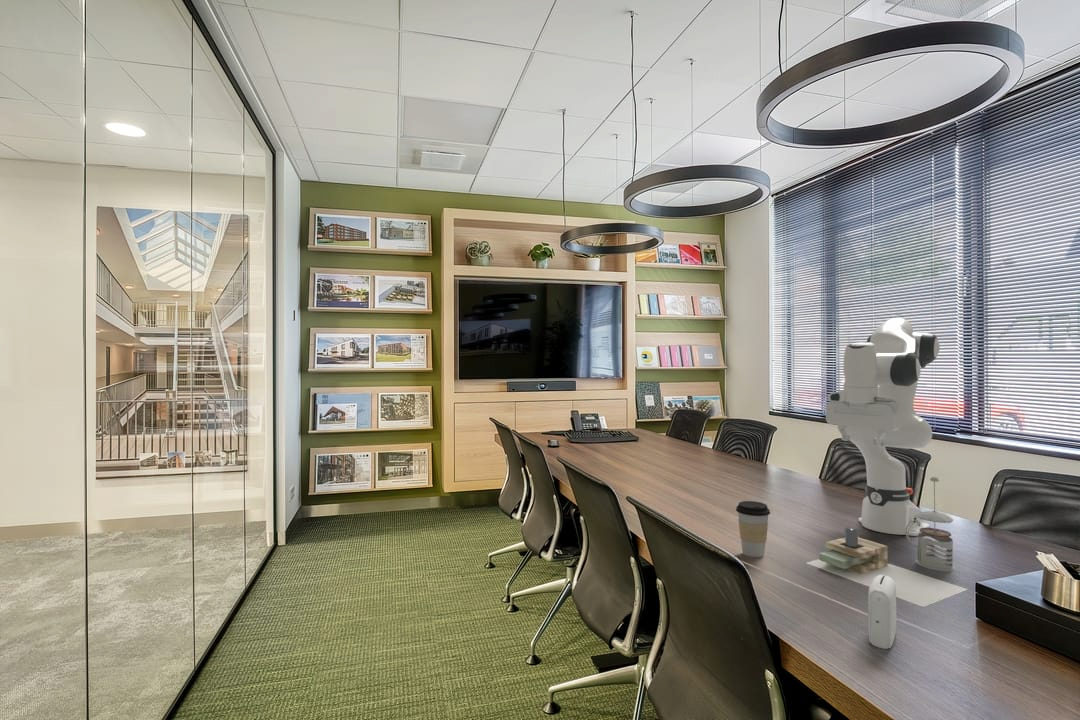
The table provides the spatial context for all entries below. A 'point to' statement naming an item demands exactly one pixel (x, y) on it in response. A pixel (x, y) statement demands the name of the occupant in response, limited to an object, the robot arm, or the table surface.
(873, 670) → the table surface
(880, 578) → the white rounded slab
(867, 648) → the table surface
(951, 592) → the mat
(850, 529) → the pin
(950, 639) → the table surface
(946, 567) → the french press
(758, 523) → the coffee cup
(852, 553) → the clevis
